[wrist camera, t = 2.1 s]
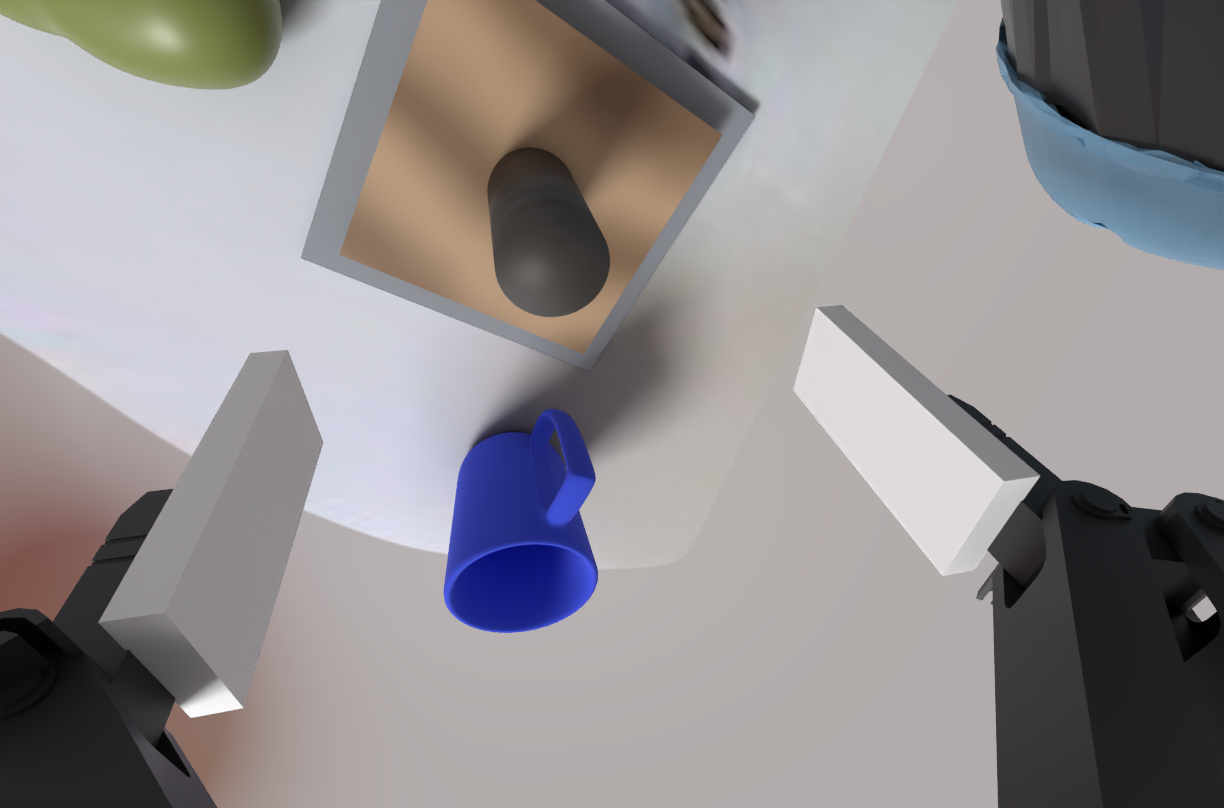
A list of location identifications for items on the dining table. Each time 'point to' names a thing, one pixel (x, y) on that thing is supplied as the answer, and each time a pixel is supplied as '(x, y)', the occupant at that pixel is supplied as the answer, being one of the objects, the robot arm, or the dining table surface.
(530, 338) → the mat
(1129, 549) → the robot arm
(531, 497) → the mug
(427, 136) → the lid
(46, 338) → the dining table surface
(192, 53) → the pear
